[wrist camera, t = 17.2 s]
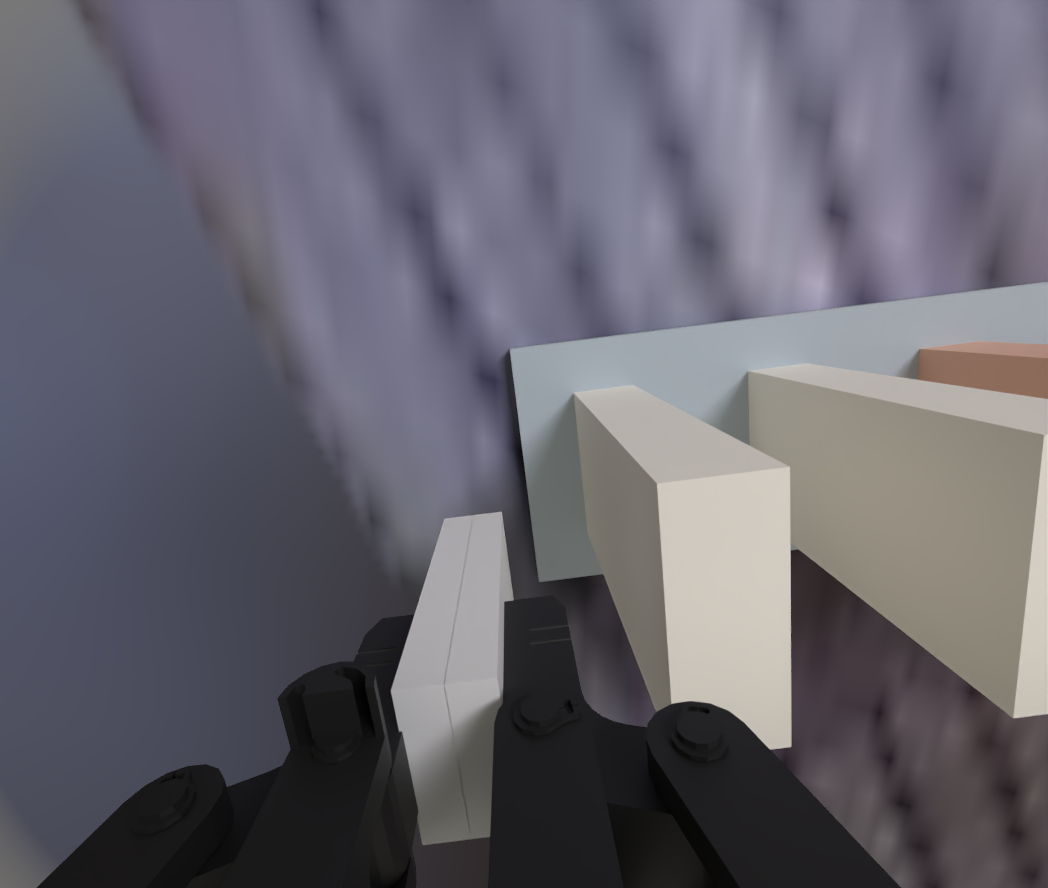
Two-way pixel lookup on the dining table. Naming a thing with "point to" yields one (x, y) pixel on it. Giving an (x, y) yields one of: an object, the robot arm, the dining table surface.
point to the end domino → (692, 554)
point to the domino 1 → (923, 511)
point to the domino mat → (726, 381)
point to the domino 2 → (988, 367)
